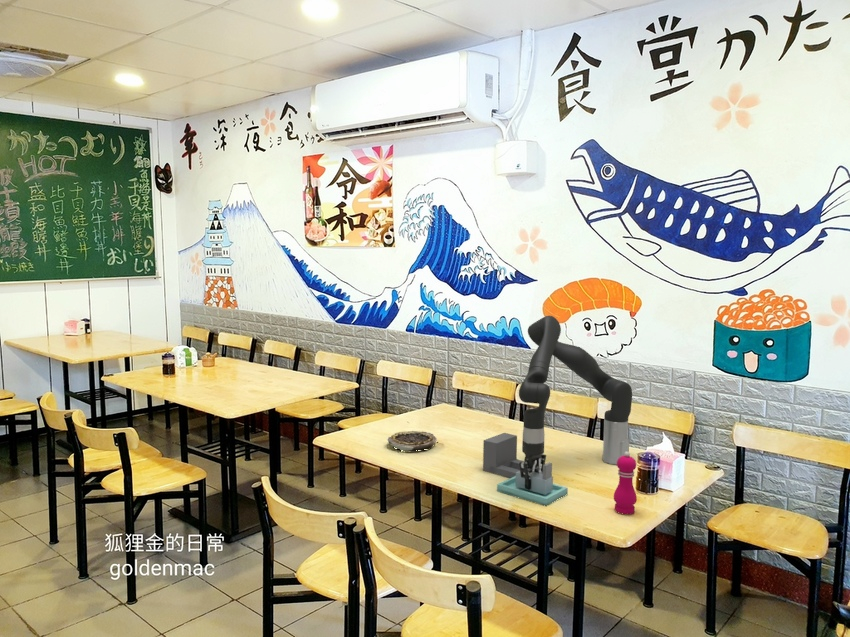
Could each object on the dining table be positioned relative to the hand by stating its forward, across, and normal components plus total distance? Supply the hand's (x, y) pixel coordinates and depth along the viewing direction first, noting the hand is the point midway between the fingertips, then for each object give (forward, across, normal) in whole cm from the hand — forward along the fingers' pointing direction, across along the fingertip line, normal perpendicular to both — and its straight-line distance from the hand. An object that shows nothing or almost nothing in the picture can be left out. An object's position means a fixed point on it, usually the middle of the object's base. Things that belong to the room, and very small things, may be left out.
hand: (532, 486), depth 230 cm
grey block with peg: (+1, 0, +1) cm, 1 cm away
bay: (+2, -14, -17) cm, 22 cm away
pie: (+3, -11, -68) cm, 69 cm away
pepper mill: (+3, -7, +31) cm, 32 cm away
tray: (+2, 0, 0) cm, 2 cm away
